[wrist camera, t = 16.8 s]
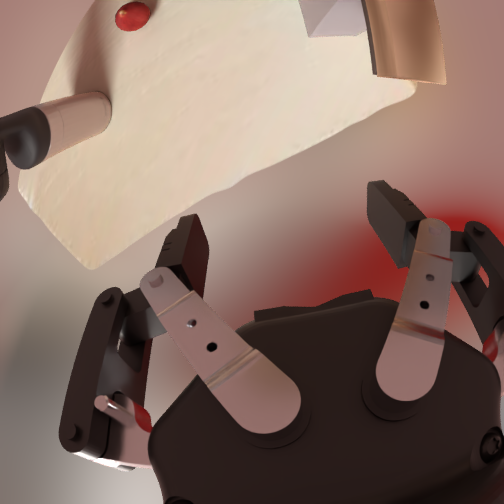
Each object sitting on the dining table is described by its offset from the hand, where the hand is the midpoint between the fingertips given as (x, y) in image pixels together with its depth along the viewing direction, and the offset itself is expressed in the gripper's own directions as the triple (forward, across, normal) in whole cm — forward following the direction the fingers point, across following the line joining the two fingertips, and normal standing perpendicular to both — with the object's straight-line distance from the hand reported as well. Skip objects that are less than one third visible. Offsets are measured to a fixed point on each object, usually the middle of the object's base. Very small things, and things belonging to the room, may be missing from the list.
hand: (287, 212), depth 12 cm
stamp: (+10, +12, +16) cm, 22 cm away
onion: (+38, -15, +23) cm, 47 cm away
